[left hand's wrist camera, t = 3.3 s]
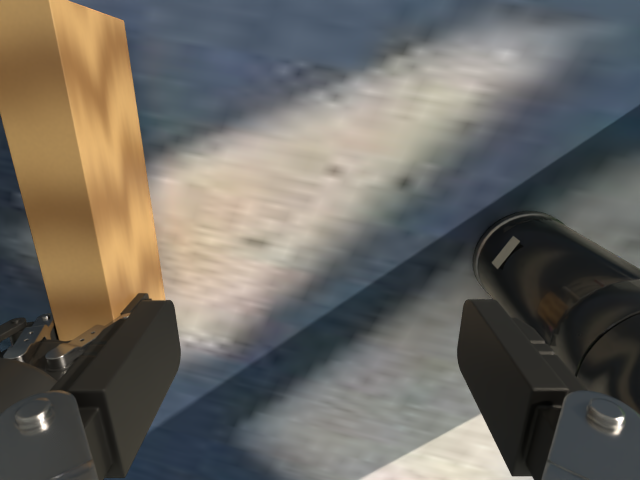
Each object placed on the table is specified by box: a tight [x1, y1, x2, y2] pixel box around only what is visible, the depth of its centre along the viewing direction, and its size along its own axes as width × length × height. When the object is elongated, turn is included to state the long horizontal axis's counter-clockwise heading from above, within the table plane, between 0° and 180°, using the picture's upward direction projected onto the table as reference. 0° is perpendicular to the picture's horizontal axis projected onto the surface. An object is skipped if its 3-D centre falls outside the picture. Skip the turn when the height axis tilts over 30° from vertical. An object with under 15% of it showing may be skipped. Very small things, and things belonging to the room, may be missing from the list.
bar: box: [0, 0, 165, 341], centre depth 32 cm, size 25×4×10 cm, turn 0°
